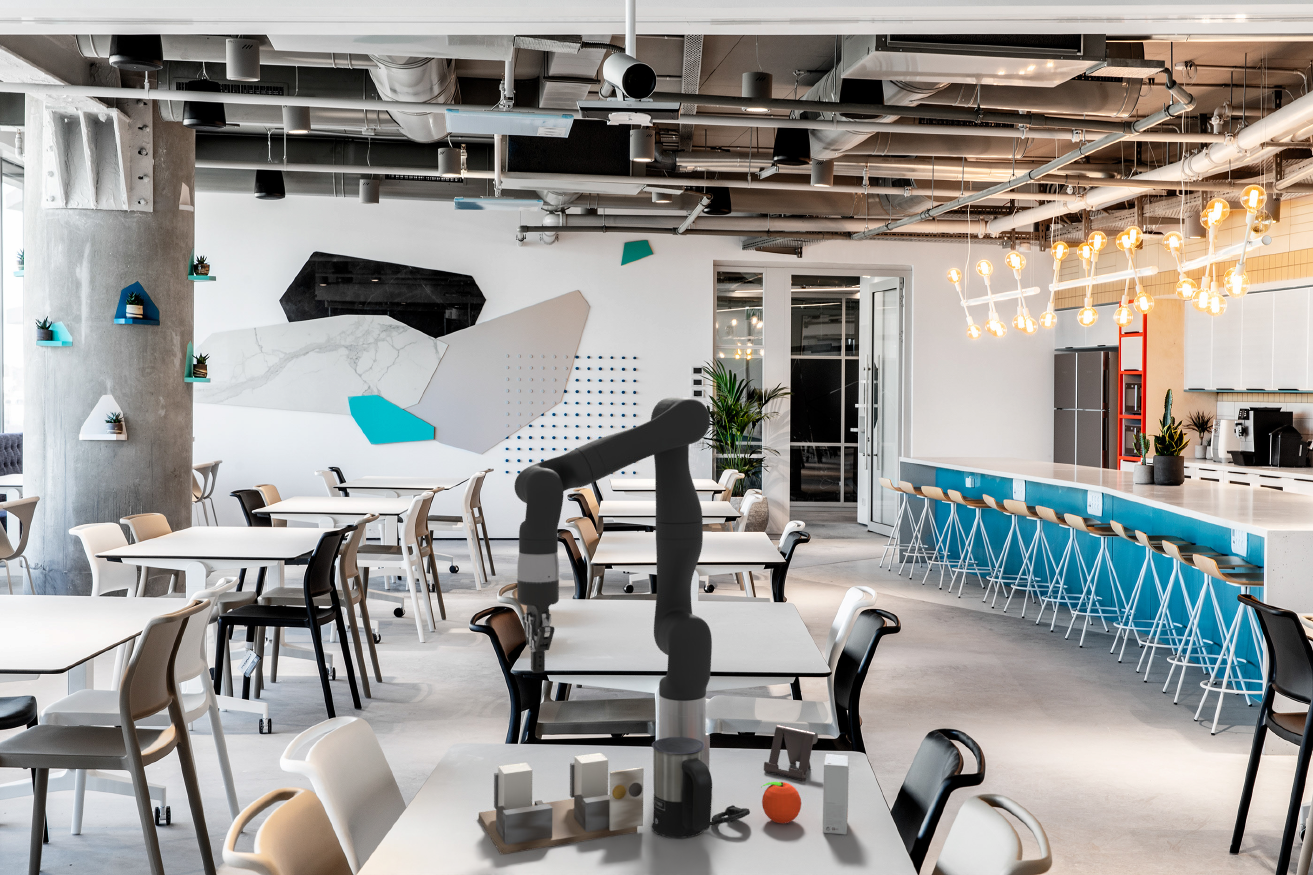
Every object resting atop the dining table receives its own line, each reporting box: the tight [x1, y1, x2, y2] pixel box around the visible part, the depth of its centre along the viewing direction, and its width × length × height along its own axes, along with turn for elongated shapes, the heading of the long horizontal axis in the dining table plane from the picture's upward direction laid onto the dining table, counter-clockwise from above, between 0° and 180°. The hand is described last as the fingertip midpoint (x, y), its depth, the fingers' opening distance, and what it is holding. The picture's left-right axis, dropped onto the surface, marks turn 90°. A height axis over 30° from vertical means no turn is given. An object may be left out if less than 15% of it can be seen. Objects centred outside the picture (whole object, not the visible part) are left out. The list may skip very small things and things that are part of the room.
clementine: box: [761, 781, 802, 824], centre depth 182 cm, size 8×7×7 cm
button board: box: [478, 766, 645, 855], centre depth 180 cm, size 25×16×11 cm, turn 113°
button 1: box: [493, 762, 533, 810], centre depth 179 cm, size 6×5×9 cm
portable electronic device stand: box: [763, 724, 819, 782], centre depth 207 cm, size 9×8×8 cm
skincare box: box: [822, 753, 850, 836], centre depth 180 cm, size 6×4×12 cm
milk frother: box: [651, 737, 751, 839], centre depth 179 cm, size 14×16×15 cm
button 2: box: [569, 752, 609, 799], centre depth 185 cm, size 6×5×9 cm
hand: (537, 671), depth 187 cm, fingers closed
